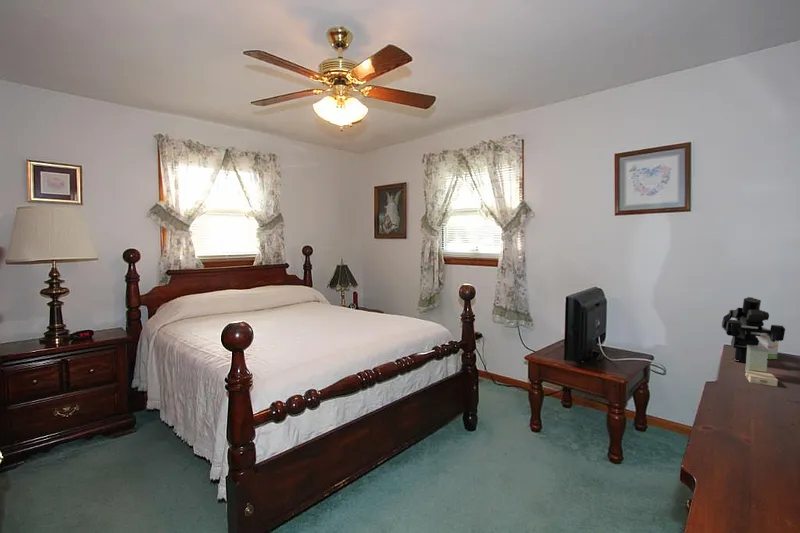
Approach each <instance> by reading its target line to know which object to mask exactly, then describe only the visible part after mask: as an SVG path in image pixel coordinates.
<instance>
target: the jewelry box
mask: <svg viewBox="0 0 800 533" xmlns="http://www.w3.org/2000/svg"><path fill="white" fill-rule="evenodd" d="M745 371H746V373H745V374H744V376H746V377H745V378H746V379H747V380H748V382H749V383H750V384H757V385H765V386H771V387H778V382H779V379H777V378H776V376H775V375H773V373H767V372H766V373H762V372H755V371H747V370H744V372H745Z"/></svg>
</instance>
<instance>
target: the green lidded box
mask: <svg viewBox="0 0 800 533" xmlns="http://www.w3.org/2000/svg"><path fill="white" fill-rule="evenodd" d="M768 352H769V350H768V349H767V348H766V347H763V346H754V345H747V356H746V363H745V370H747V371H755V372H762V373H767V368H768V360H767V359H768ZM745 370H744V373H745V372H746V371H745Z"/></svg>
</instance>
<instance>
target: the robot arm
mask: <svg viewBox="0 0 800 533" xmlns="http://www.w3.org/2000/svg"><path fill="white" fill-rule="evenodd" d="M761 302H762V300H761V299H758V298H755V297H750V296H747V297H745V298H743V302H742V307H737V308H735V309H729V312H728V313H727V314H726V315H724V316H723V318H722V321H721V328H722V329H723V330H724V331H725V334H726V335H727V336H731V337H732V338H731V341H730V346H731V347H732V348H733V349H735V350H734V357H735V359H736V360H739V361H741V362H740V363H743V362H746V356H747V345H754V346H758V344H759V340H758V338H757V337H756V336H760V335H767V336H770V340H771V341H772V342H775V341H779V342H782V341H784V338H785V333H786V328H785V327H784V326H783V325H779V324H778V325H777V324H771V325H770V328H769V329H770V330H765V329H763V328H762V327H764V325H765V324H764V322H763V321H768V320H769V319H770V313H769V312H768V311H765V310H761V309H760V308H761ZM767 333H768V334H767Z"/></svg>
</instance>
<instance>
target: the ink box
mask: <svg viewBox="0 0 800 533" xmlns="http://www.w3.org/2000/svg"><path fill="white" fill-rule="evenodd" d="M762 328H763V329H765V330H770V329H771V328H767V327H764V326H762ZM767 334H768V333H767ZM756 337H757V338H758V340H759V344H758V346H763V347H766V348H767V349H768V350H769V352H768V359H777V360H778V350H779V342H780V341H775V342H772V341H771V340H770V336H767V335H760V336H756Z"/></svg>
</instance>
